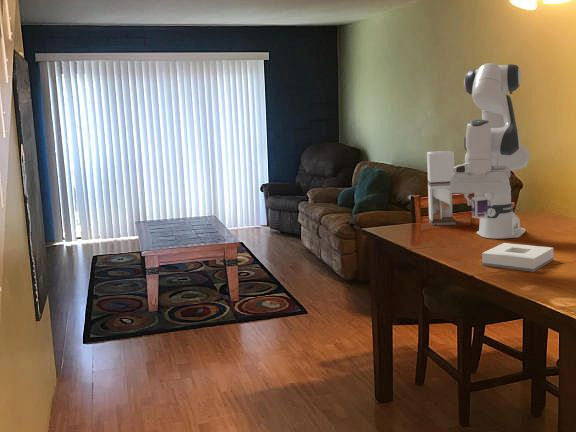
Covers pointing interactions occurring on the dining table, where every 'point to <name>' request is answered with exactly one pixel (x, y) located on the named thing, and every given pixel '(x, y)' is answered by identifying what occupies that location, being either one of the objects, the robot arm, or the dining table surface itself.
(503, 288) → the dining table surface
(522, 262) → the socket holder
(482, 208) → the pill bottle
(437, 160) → the white dispenser
